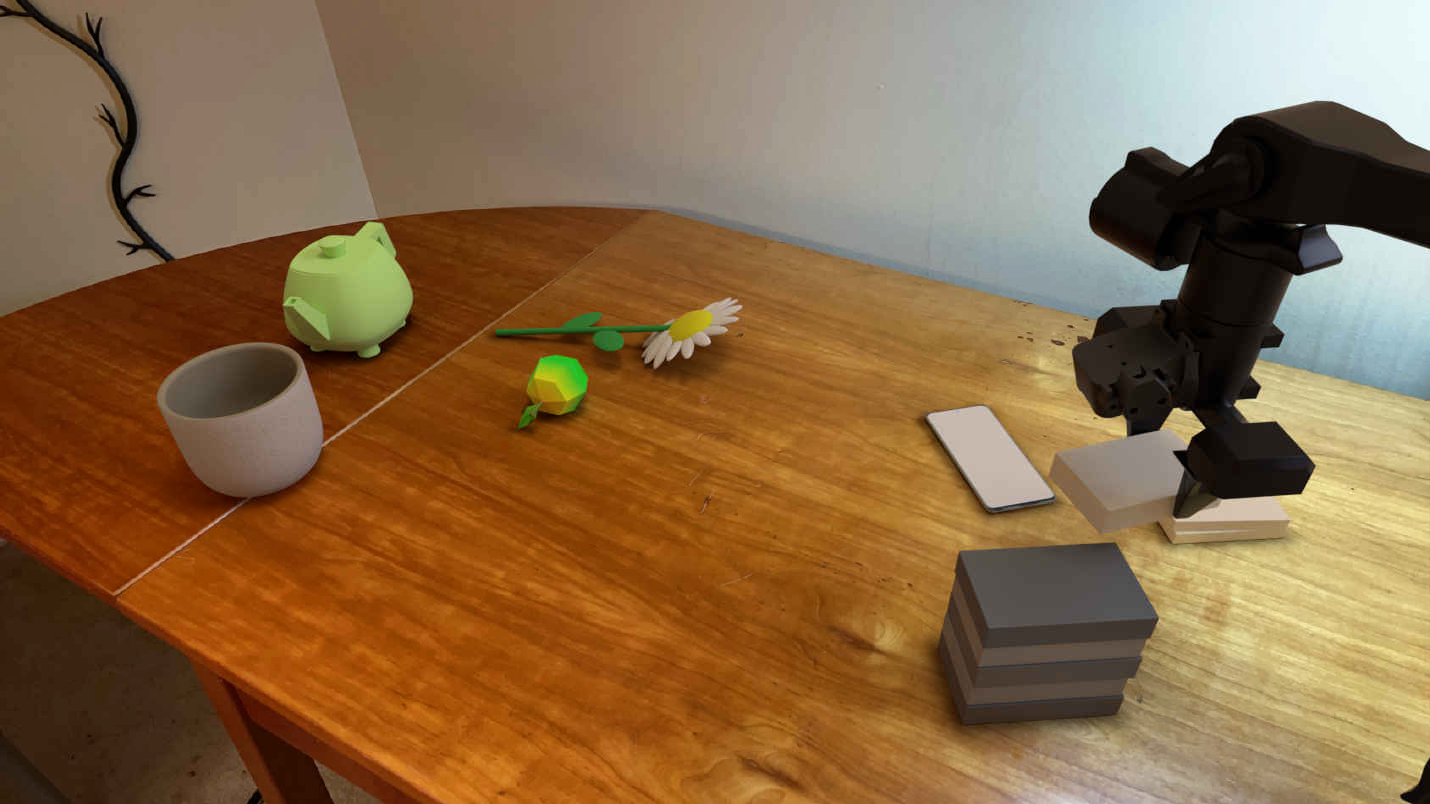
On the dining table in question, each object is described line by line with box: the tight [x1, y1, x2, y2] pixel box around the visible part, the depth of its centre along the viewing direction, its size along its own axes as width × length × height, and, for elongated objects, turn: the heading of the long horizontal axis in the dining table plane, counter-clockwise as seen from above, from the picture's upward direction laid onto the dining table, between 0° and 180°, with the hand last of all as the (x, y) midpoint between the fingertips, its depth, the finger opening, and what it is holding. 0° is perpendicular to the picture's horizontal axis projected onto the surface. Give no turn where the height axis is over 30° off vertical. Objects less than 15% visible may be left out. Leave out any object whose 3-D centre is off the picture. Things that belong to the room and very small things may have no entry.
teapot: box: [282, 221, 414, 359], centre depth 105 cm, size 20×13×13 cm
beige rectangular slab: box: [1157, 496, 1292, 545], centre depth 83 cm, size 7×10×2 cm
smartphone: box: [925, 404, 1057, 514], centre depth 90 cm, size 7×1×15 cm
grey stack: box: [937, 541, 1160, 726], centre depth 66 cm, size 7×12×11 cm, turn 94°
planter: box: [156, 341, 324, 498], centre depth 86 cm, size 12×12×11 cm
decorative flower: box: [495, 297, 743, 370], centre depth 105 cm, size 13×5×30 cm
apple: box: [517, 354, 589, 430], centre depth 95 cm, size 7×6×9 cm
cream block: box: [1048, 427, 1222, 535], centre depth 67 cm, size 6×10×2 cm, turn 106°
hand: (1156, 483), depth 68 cm, fingers closed on cream block, 7 cm apart
